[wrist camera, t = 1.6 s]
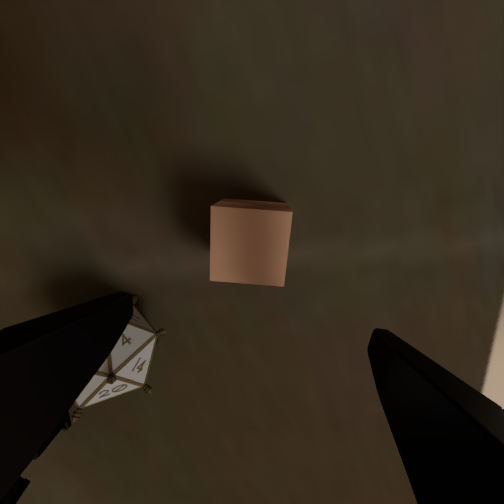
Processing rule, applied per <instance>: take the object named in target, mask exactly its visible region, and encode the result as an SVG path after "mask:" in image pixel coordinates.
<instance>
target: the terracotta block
mask: <svg viewBox="0 0 504 504" xmlns="http://www.w3.org/2000/svg"><path fill="white" fill-rule="evenodd" d="M292 213H293V212H292V210H291V209H290V207H289V206H288V205H287V203H283V202H269V201H255V200H241V199H227V198H224V199H222V200H220V201H219V202H217V203H215V204H213V205H212V206H211V227H210V281H222V282H234V283H246V284H258V285H269V286H281V287H284V281H285V273H286V264H287V256H288V247H289V239H290V230H291V222H292Z"/></svg>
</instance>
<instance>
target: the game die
mask: <svg viewBox="0 0 504 504" xmlns="http://www.w3.org/2000/svg"><path fill="white" fill-rule="evenodd" d="M132 300H133V316H132V319H131V320H130V322H129V324H128V325H127V327H126V329H125V330H124V332H123V334H122V335H121V337H120V339H119V340H118V342H117V344H116V345H115V347H114V349H113V350H112V352H111V353H110V355H109V356H108V357H107V359H106V360H105V362H104V363H103V364H102V366H101V367H100V368H99V370H98V371H97V372H96V374H95V375H94V376H93V378H92V379H91V380H90V382H89V383H88V385H87V386H86V387H85V389H84V390H83V391H82V393H81V394H80V395H79V397H78V398H77V399H76V401H75V402H74V403H75V405H76V406H77V409H76V411H75V412H73V413H74V414H73V415H72V416H71V417H72V424H73V423H74V422H75V421H76V420H77V419H78V418H80V417H79V416H80V414H81V411H82V409H83V408H86V407H88V406H91V405H94V404H97V403H100V402H102V401H105V400H108V399H111V398H114V397H116V396H119V395H122V394H125V393H128V392H130V391H133V390H136V389H139V388H142V387H143V389H144V391H146V393H151V394H152V391H151V387H150V386H149V385H147V384H146V381H147V377H148V373H149V369H150V365H151V361H152V357H153V353H154V349H155V345H156V344H157V343H158V341H159V340H158V339H157V337H158V336H161V335H164V334H165V333H166V332H167V331H168V330H165V329H163V328H162V329H161V330H160V329H159V331H156V330H155V329H154V328H153V327H152V326H151V324H150V323H149V322H148V321H147V320H146V318H145V317H144V316H143V315H142V314H141V312H140V311H139V310H138V309H137V308H136V307H135V305H134V304H135V303H137V302H136V301H137V300H138V299H137V295H136V296H134V297H132ZM67 308H69V307H67Z"/></svg>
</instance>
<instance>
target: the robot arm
mask: <svg viewBox="0 0 504 504" xmlns="http://www.w3.org/2000/svg"><path fill="white" fill-rule="evenodd" d="M132 316H133V300H132V295H131V294H130V293H127V292H117V293H113V294H110V295H107V296H104V297H101V298H98V299H95V300H91V301H88V302H85V303H82V304H79V305H76V306H73V307H69V308H66V309H63V310H60V311H57V312H54V313H50V314H47V315H44V316H41V317H38V318H35V319H32V320H28V321H25V322H22V323H19V324H16V325H13V326H10V327H6V328H3V329H2V330H0V504H16V503H17V501H18V500H19V498H20V497H21V495H22V494H23V492H24V491H25V489H26V488H27V486H28V485H29V483H30V481H29V480H28V479H26V478H25V479H24V478H22V477H21V476H20V475H21V473H22V472H23V471H24V470H25V468H26V467H27V466H28V465H29V464H30V462H31V461H32V460H36V459H37V458H38V457H39V456H40V455H41V454H42V453H43V451H44V450H45V449H46V448H47V446H48V445H49V444H50V443H51V441H52V440H53V439H54V438H55V436H56V435H57V434H58V433H59V431H60V430H68V429H69V427H70V426H71V421H70V417H69V413H68V410H69V409H70V407H71V406H72V405H73V403H74V402H75V401H76V399H77V398H78V397H79V395H80V394H81V393H82V391H83V390H84V389H85V387H86V386H87V385H88V383H89V382H90V380H91V379H92V378H93V376H94V375H95V374H96V372H97V371H98V370H99V368H100V367H101V366H102V364H103V363H104V362H105V360H106V359H107V357H108V356H109V355H110V353H111V352H112V350H113V349H114V347H115V345H116V344H117V342H118V340H119V339H120V337H121V335H122V334H123V332H124V330H125V329H126V327H127V325H128V324H129V322H130V320H131V319H132ZM368 356H369V360H370V364H371V368H372V372H373V376H374V380H375V384H376V388H377V392H378V395H379V398H380V401H381V404H382V407H383V409H384V412H385V415H386V418H387V420H388V423H389V426H390V429H391V431H392V434H393V437H394V440H395V442H396V445H397V448H398V451H399V453H400V456H401V459H402V462H403V464H404V467H405V470H406V473H407V475H408V478H409V481H410V484H411V486H412V489H413V492H414V495H415V498H416V500H417V503H418V504H504V409H503V410H502V407H501V406H499V405H498V404H496V403H495V402H493V401H492V400H490V399H489V398H487V397H486V396H484V395H483V394H481V393H480V392H478V391H477V390H476V389H474V388H473V387H471V386H470V385H468V384H467V383H465V382H464V381H462V380H461V379H459V378H458V377H456V376H455V375H453V374H452V373H450V372H449V371H448V370H446V369H445V368H443V367H442V366H440V365H439V364H437V363H436V362H434V361H433V360H431V359H430V358H428V357H427V356H425V355H424V354H422V353H421V352H420V351H418V350H417V349H415V348H414V347H412V346H411V345H409V344H408V343H406V342H405V341H403V340H402V339H400V338H399V337H397V336H396V335H394V334H393V333H392V332H390V331H389V330H386V329H379V328H376V329H374V330H373V333H372V336H371V339H370V342H369V345H368Z"/></svg>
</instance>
